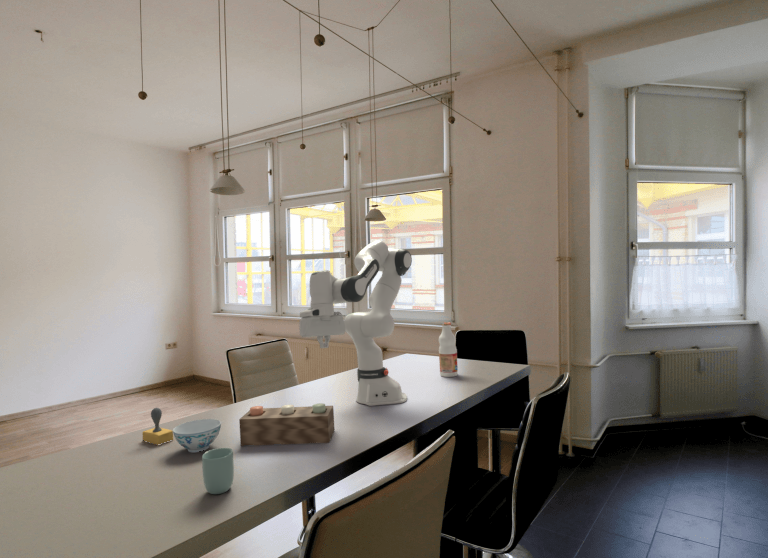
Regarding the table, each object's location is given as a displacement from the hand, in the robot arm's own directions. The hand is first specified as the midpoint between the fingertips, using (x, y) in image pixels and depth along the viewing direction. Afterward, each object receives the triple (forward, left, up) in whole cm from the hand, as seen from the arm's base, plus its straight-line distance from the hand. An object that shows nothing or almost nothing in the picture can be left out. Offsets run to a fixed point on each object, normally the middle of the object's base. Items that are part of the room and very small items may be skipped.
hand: (324, 348), depth 173 cm
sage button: (0, +16, -21) cm, 26 cm away
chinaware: (+40, +23, -29) cm, 54 cm away
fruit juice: (-53, -70, -29) cm, 92 cm away
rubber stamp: (+59, +14, -29) cm, 67 cm away
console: (+11, +16, -28) cm, 34 cm away
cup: (+20, +54, -29) cm, 64 cm away
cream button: (+11, +16, -21) cm, 28 cm away
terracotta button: (+22, +16, -21) cm, 34 cm away
